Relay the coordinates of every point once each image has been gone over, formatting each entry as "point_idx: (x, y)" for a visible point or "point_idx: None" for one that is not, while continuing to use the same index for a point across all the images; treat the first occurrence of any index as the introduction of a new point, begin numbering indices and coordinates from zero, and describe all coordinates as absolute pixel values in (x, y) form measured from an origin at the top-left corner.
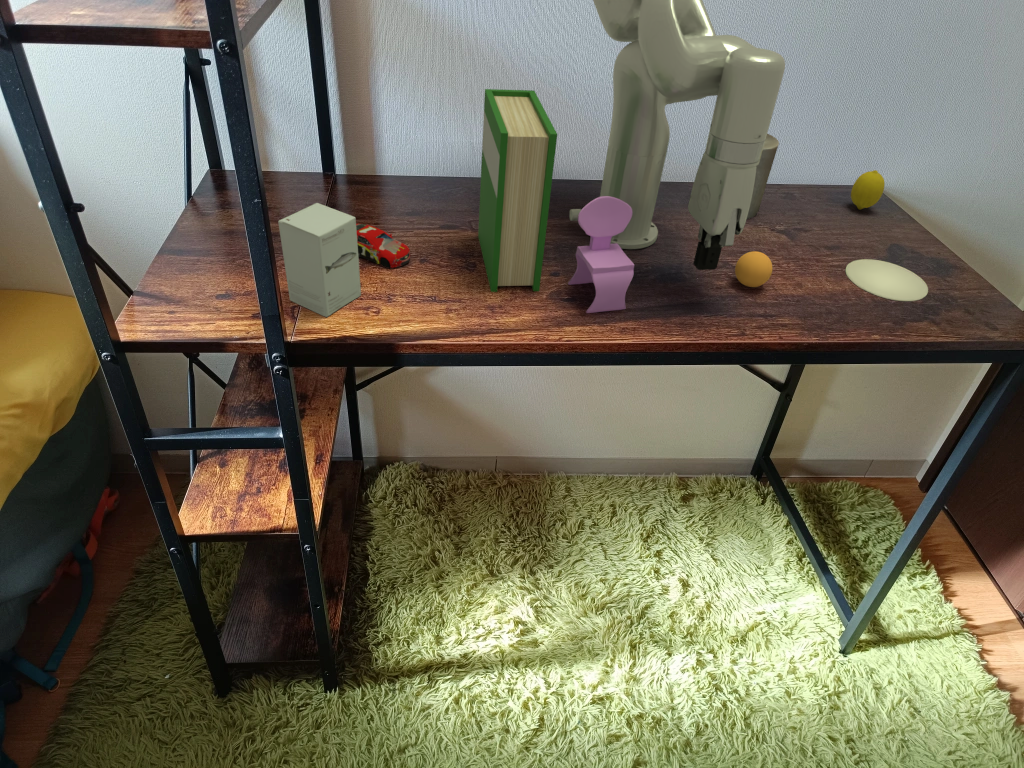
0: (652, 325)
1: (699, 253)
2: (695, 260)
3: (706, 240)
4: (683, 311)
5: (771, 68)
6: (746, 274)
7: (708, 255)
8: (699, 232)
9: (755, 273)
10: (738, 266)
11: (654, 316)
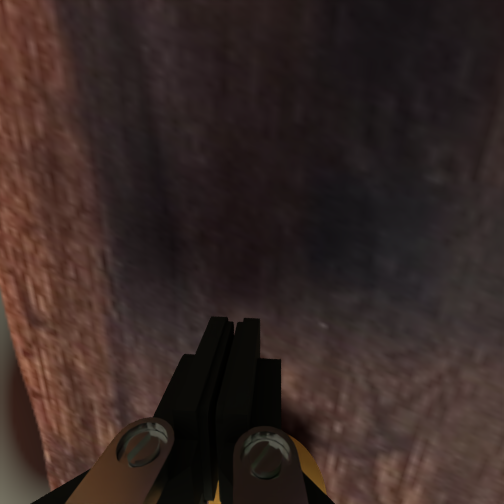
0: (26, 42)
1: (206, 365)
2: (242, 331)
3: (136, 468)
4: (125, 197)
5: None
6: None
7: (165, 398)
8: (290, 482)
9: None
10: None
11: (83, 71)
